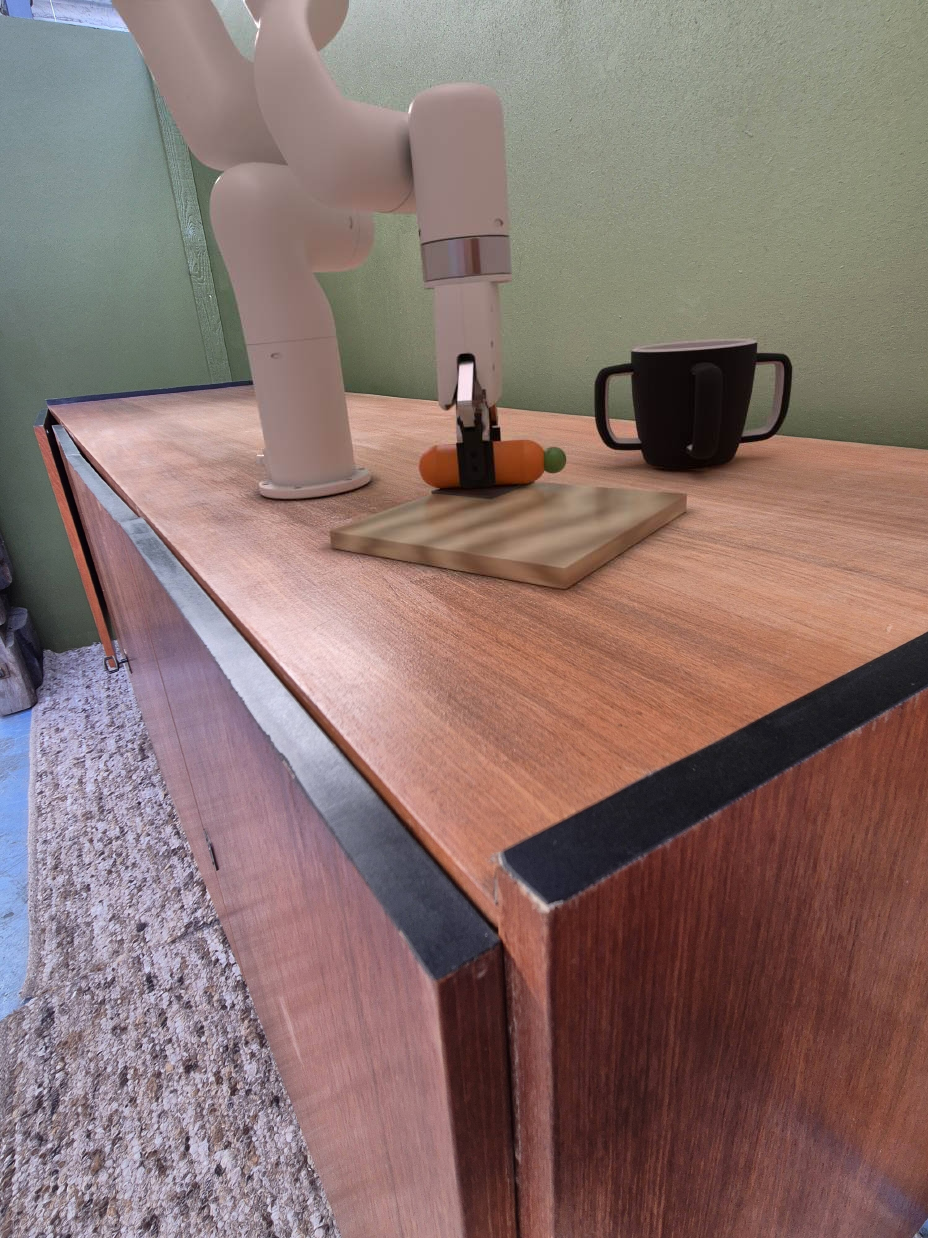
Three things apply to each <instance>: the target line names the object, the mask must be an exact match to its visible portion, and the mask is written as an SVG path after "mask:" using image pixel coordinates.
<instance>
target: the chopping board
mask: <svg viewBox="0 0 928 1238" xmlns="http://www.w3.org/2000/svg"><path fill="white" fill-rule="evenodd" d="M430 492H431V493H429V494H426V495H424V496H421V497H418V498H416V499H415V498H414V499H413V500H410V501H407V502H404V503H402V504H399V505H397V506H393V507H390V508H388V509H385V510H383V511H379V512H377V513H374V514H372V515H369V516H366V517H363V518H361V519H358V520H355V521H353V522H349V523H347V524H345V525H341V526H338V527H336V528H333V529H331V530H329V531H328V532H329V533H328V534H329V538H330V543H331V545H330V546H331V549H333V550H334V549H335V550H341V551H346V552H351V553H356V554H357V553H358V554H363V555H368V556H374V557H380V558H386V559H391V560H397V561H403V562H409V563H414V564H420V565H425V566H430V567H437V568H442V569H443V568H444V569H448V570H453V571H459V572H464V573H470V574H475V575H480V576H481V575H482V576H487V577H492V578H498V579H503V580H504V579H505V580H510V581H514V582H515V581H516V582H520V583H527V584H533V585H538V586H543V587H549V588H555V589H561V590H567V589H569V588H570V587H572V586H573V585H575V584H576V583H578V582H579V581H581V580H583V579H584V578H586V577H587V576H589V575H591V574H592V573H593V572H595V571H596V570H598V569H599V568H602V567H603V566H604V565H606V564H607V563H609V562H610V561H611V560H613V559H615V558H616V557H618V556H619V555H621V554H622V553H624V552H626V551H627V550H628V549H630V548H632V547H634V546H635V545H636V544H638V543H639V542H641V541H643V540H644V539H645V538H647V537H648V536H650V535H652V534H653V533H655V532H656V531H657V530H660V529H661V528H663V527H664V526H666V525H667V524H669V523H670V522H672V521H673V520H675V519H676V518H678V517H679V516H681V515H683V514H684V513H685V512H687V506H688V505H687V503H688V502H687V501H688V494H687V493H684V492H683V493H681V492H671V491H670V492H668V491H655V490H645V489H644V490H642V489H630V488H618V487H617V488H616V487H604V486H591V485H581V484H580V485H578V484H566V483H554V482H541V481H534V482H532V483H527V484H513V485H494V486H492V487H477V488H462V487H457V488H435V489H433V490H431V491H430Z"/></svg>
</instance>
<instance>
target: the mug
mask: <svg viewBox="0 0 928 1238" xmlns="http://www.w3.org/2000/svg"><path fill="white" fill-rule="evenodd" d="M762 365H763V366H764V365H774V369H775V372H774V373H775V375H774V376H775V377H774V378H775V379H774V392H773V399H772V405H771V411H770V414H769V417H768V419H767V421H766V422H765V423H764V425H763V426H762V427H759V428H754V429H753V428H752V429H745V426H746V422H747V417H748V413H749V408H750V404H751V399H752V394H753V388H754V382H755V374H756V368H757V366H762ZM625 376H630V381H631V382H630V383H631V397H632V398H631V399H632V405H633V413H634V422H635V428H636V433H637V437H617V436H616V435H615V433H614V431H613V429H612V427H611V421H610V406H609V398H610V397H609V394H610V393H609V390H610V381H611V379H612V378H613V377H625ZM792 384H793V364H792V362H791V359H790V357H789V355H786V354H785V353H781V352H780V353H779V352H758V341H757V340H756V339H752V338H714V339H713V338H711V339H698V340H696V339H695V340H683V341H673V342H672V341H671V342H662V343H654V344H647V345H641V346H636V347H634V348H633V349H631V350H630V362H626V363H620V364H616V365H610V366H605V367H602V368H601V369H600V370H599V372H598V373H597V375H596V378H595V380H594V386H593V387H594V388H593V389H594V390H593V393H594V397H593V400H594V402H593V405H594V406H593V407H594V408H593V409H594V421H595V427H596V430H597V433H598V434H599V438H600V439H601V440H602V443H603V444H604V445H605V446H606V447H607V448H609V449H611V450H614V451H622V452H623V451H624V452H625V451H627V452H628V451H630V452H631V451H640V452H641V455H642V457H643V460H644V462H645V463H646V464H648V465H649V466H652V467H655V468H659V469H660V468H661V469H665V470H672V471H673V470H675V471H692V470H693V471H694V470H705V469H710V468H715V467H719V466H720V467H721V466H723V465H726V464H728V463H730V462H731V461H732V460H733V459H734V458H735V456H736V454H737V452H738V449H739V446H740V444H750V443H757V442H763V441H767V440H769V439H770V438H773V437H774V436H775V435H776V434H777V433H778V432H779V431H780V429H781V427H782V426H783V424H784V421H785V420H786V418H787V414H788V413H789V407H790V402H791V401H790V400H791V395H792V394H791V393H792Z"/></svg>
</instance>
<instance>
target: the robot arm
mask: <svg viewBox="0 0 928 1238" xmlns="http://www.w3.org/2000/svg"><path fill="white" fill-rule="evenodd" d="M242 1H243V3H244V6H245V7H246V9H247V11H248V13H249V15H250V17H251V18H252V20H253V21H254V24H255V26H256V27H257V32H256V36H255V41H254V47H253V61H252V60H251V59H248V58H246V56H244V55H243V54H242V53H241V52H240V50H239V48H237V46H236V44H235V43H234V41H233V39H232V37H231V35H230V34H229V32H228V30H227V28H226V25H225V24H224V21H223V18H222V16H221V15H220V12H219V11H218V8H217V7H216V5H215V4H214V2H213V1H212V0H109V2H110V3H111V5H112V6H113V8H114V10H115V11H116V12H117V14H118V15H119V17H120V19H121V20H122V22H123V23H124V24H125V26H126V28H127V30H128V32H129V33H130V34H131V36H132V38H133V39H134V41H135V43H136V45H137V47H138V49H139V51H140V53H141V55H142V57H143V59H144V62H145V64H146V66H147V68H148V70H149V72H150V75H151V76H152V78H153V81H154V82H155V84H156V86H157V88H158V91H159V92H160V95H161V96H162V99H163V100H164V102H165V105H166V106H167V108H168V110H169V113H170V114H171V117H172V119H173V121H174V123H175V125H176V126H177V128H178V130H179V132H180V135H181V137H182V139H183V140H184V142H185V143H186V146H187V147H188V149H189V150H190V152H191V153H192V154H193V155H194V156H195V159H197V160H198V161H199V162H200V163H201V164H203V165H204V166H206V167H208V168H211V169H213V170H216V171H221V172H222V174H220V175H219V176H218V178H217V180H215V182H214V185H213V186H212V189H211V191H210V192H211V193H210V198H209V219H210V225H211V228H212V233H213V236H214V239H215V242H216V244H217V248H218V250H219V252H220V255H221V258H222V260H223V263H224V265H225V269H226V271H227V274H228V276H229V277H228V278H229V279H230V282H231V283H230V284H231V287H232V290H233V293H234V297H235V301H236V305H237V309H238V315H239V319H240V323H241V328H242V333H243V338H244V345H245V348H246V352H247V359H248V363H249V369H250V374H251V380H252V385H253V391H254V395H255V400H256V405H257V411H258V415H259V420H260V421H259V422H260V427H261V431H262V436H263V441H264V447H265V448H262V449H261V450H262V454H256V455H255V456H254V459H253V462H254V464H255V465H256V466H257V467H265V471H266V476H267V477H265V478H263V479H262V480H260V482H259V483H258V490H259V494H260V495H261V496H263V497H266V498H269V499H278V500H279V499H281V500H294V499H295V500H297V499H309V498H317V497H318V498H319V497H325V496H332V495H336V494H341V493H345V492H349V491H352V490H356V489H358V488H361V487H363V486H366V485H367V484H368V483H369V482H371V479H372V475H371V471H370V469H369V467H368V468H367V467H365V466H362V465H356V460H355V455H354V454H355V453H354V445H353V440H352V439H353V438H352V432H351V426H350V420H349V411H348V404H347V398H346V391H345V384H344V377H343V370H342V362H341V357H340V349H339V343H338V342H339V341H338V336H337V329H336V324H335V318H334V313H333V310H332V307H331V305H330V302H329V300H328V297H327V295H326V293H325V291H324V290H323V288H322V286H321V285H320V283H319V281H318V278H317V277H316V275H315V273H341V272H347V271H351V270H353V269H355V268H357V267H360V265H362V264H363V263H364V262H365V261H366V260H367V259H368V257H369V255H370V254H371V252H372V249H373V246H374V242H375V235H376V233H375V231H376V228H375V227H376V226H375V224H376V223H375V215H374V212H376V213H381V214H390V215H391V214H394V215H415V214H416V218H417V229H418V238H419V245H420V247H419V250H420V260H421V269H422V280H423V290H427V291H428V290H429V291H430V290H433V328H434V329H433V331H434V332H433V333H434V347H435V364H436V381H437V398H438V399H437V400H438V406H439V407H440V409H442V410H443V411H444V412H447V411H450V410H451V409H452V408H453V407H455V425H456V426H455V429H456V433H455V435H456V442H455V444H456V448H457V459H458V471H459V482H460V486H461V487H462V488H477V487H492V486H494V485H495V482H496V477H495V462H494V447H493V442H495V441H502V436H501V435H502V434H501V433H502V432H501V426H499V413H498V406H497V403H498V401H499V399H500V398H501V396H502V394H503V339H502V338H503V337H502V320H501V305H500V304H501V303H500V288H499V284H505V283H509V282H511V283H512V282H513V275H512V274H513V273H512V255H511V254H512V253H511V252H512V251H511V238H510V237H511V236H510V216H509V197H508V180H507V179H508V178H507V176H508V175H507V159H506V157H507V156H506V141H505V140H506V139H505V123H504V122H505V121H504V111H503V105H502V101H501V98H500V96H499V95H498V93H497V92H496V91H495V89H493V88H492V87H490V86H489V85H486V84H483V83H479V82H471V81H456V82H447V83H441V84H438V85H434V86H431V87H428V88H426V89H424V90H422V91H420V92H418V93H417V95H415V97H414V98H413V99H412V100H411V103H410V105H409V109H408V111H402V110H397V109H391V108H387V107H384V106H379V105H376V104H370V103H366V102H362V101H358V100H352V99H347V98H345V96H344V95H343V94H342V93H341V91H340V90H339V88H338V86H337V85H336V83H335V81H334V80H333V78H332V76H331V74H330V72H329V71H328V68H327V67H326V65H325V63H324V61H323V59H322V57H321V55H320V53H319V52H320V51H322V50H323V49H324V48H325V47H326V46H327V45H329V44H330V43H331V42H332V41H333V40H334V39H335V37H336V36H337V35H338V34H339V32H340V31H341V28H342V27H343V25H344V23H345V21H346V18H347V15H348V12H349V8H350V0H242Z"/></svg>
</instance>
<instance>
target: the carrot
mask: <svg viewBox="0 0 928 1238" xmlns="http://www.w3.org/2000/svg"><path fill="white" fill-rule="evenodd" d="M493 447H494V462H495V477H496V482H495V485H513V484H527V483H532V482H537V480H539V479H540V478H541V477H542V476H543V474H544V473H545V472H546V473H548V474H557V473H560V472H561V471H563V469H564V468H565V467H566V464H567V455H566V453H565V451H564V450H563V449H562V448H560V447H558V446H550V447H548V448H546V449H544V448H543V447H542V445H540V444H539V443H538V442H536V441H534V440H530V439H513V440H501V441H495V442H493ZM418 471H419V474H420V477H421V478H422V480H423V482H424V483H425V484H427V485H428V486H430V487H432V488H434V489H439V488H457V487H461V486H460V482H459V471H458V459H457V448H456V443H451V444H437V445H432V446H430V447H429V448H427V449H426V450H425V451H424V452H423V453H422V455H420V459H419V463H418Z"/></svg>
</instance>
